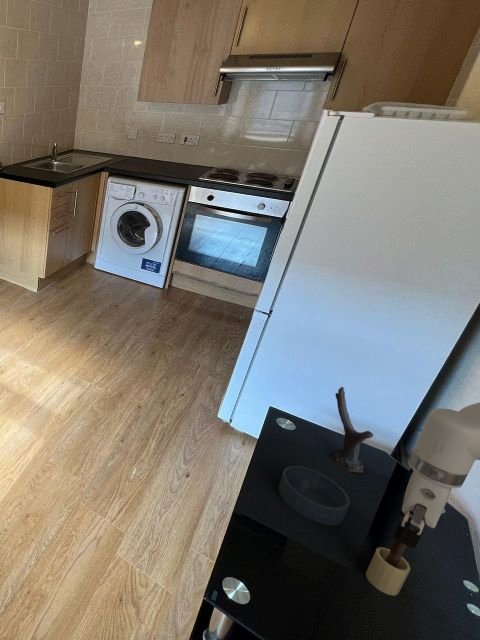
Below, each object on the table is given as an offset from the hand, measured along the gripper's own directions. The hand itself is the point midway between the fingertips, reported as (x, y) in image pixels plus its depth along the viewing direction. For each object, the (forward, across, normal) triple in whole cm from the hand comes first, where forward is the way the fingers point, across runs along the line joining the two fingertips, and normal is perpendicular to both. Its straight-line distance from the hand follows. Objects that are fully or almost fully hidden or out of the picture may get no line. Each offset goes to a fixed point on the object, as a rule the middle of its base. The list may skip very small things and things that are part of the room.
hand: (406, 530), depth 87 cm
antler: (+17, +40, +15) cm, 46 cm away
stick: (+16, 0, 0) cm, 16 cm away
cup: (+17, 0, 0) cm, 17 cm away
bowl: (+17, +14, +16) cm, 27 cm away
